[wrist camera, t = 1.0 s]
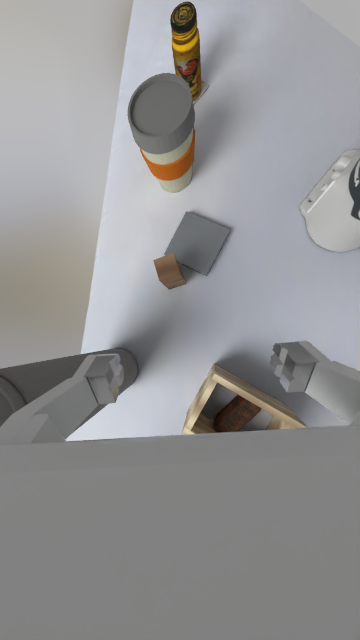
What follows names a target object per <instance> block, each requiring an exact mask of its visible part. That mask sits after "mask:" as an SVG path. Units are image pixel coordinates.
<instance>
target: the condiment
mask: <svg viewBox="0 0 360 640" xmlns="http://www.w3.org/2000/svg"><path fill="white" fill-rule="evenodd" d="M196 15H197V14H196V9H195V7H194V5H193V4H192V3H190V2H183V3H181V4H179V5H178V6H177V7H176V8H175V9H174V10H173V12H172V14H171V20H170V21H171V28H172V50H173V58H174V65H175V71H176V75H178V76H180V77H181V78H183V79H184V80H185V81H186V82H187V84H188V85H189V87H190V90H191V94H192V100H193V105H194V104H195V102H196V101H197V100H198V99H199V98H200V97H201V95H202V94H203V93H204V92H205V90H206V89H207V88H208V87H209V85H207V84H206V83H204V82H203V81H201V67H200V66H201V65H200V39H199V31H198V28H197V19H196V18H197V16H196Z"/></svg>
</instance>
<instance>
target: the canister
mask: <svg viewBox="0 0 360 640" xmlns="http://www.w3.org/2000/svg"><path fill="white" fill-rule="evenodd" d="M99 354H118V355H119V356H120V359H121V360H120V363H119V364H120V365H122V366H123V369H124V379H123V383H122V385H121V386H119V387H118V388H119V394H118V395H120V394H121V393H122V392H123V391H124V390H126V389H127V388H128V387H129V386H130V385H132V384H133V382H134V381H135V379H136V376H137V372H138V369H137V363H136V360H135V358H134V357H133V355H132V354H131V353H130V352H128V351H127V350H124V349H121V348H117V349H109V350H103V351H98V352H92V353H86V354H80V355H75V356H69V357H63V358H58V359H52V360H47V361H41V362H36V363H30V364H26V365H19V366H14V367H8V368H3V369H0V427H1V426H2V425H3V424H4V423H5V421H6V420H7V419H8V418H9V417H10V416H11V415H12V414H13V413H15V412H16V411H18V410H20V409H21V408H23V407H24V406H26V405H27V404H29V403H31V402H32V401H34V400H35V399H37V398H38V397H40V396H42V395H43V394H45V393H46V392H48V391H49V390H51V389H52V388H54V387H56V386H57V385H59V384H60V383H62V382H63V381H65V380H67V379H68V378H72V377H73V375H74V374H75V373H76V371H77V370H78V368H79V367H80V365H81V364H82V363H83V361H84V360H85V358H86V357H87V356H89V355H99ZM107 404H109V403H107ZM107 404H98V406H97V407H96V408H95V409H94V410H93V411H92V412H91V413H90V414H89V415H88V416H87V417H86V419H85V420H84V421H83V422H82V423H81V424H80V425H79V426H78V427H77V428H76V429H75V430H77V429H78V428H79V427H80V426H82V425H83V424H84V423H85V422H87V421H88V420H89V419H90V418H92V417H93V416H94V415H95V414H96V413H98V412H99V411H100V410H101V409H103V408H104V407H105V406H106V405H107ZM75 430H74V431H75ZM74 431H73V432H74ZM73 432H72V433H73ZM72 433H71V434H72ZM71 434H70V435H71Z"/></svg>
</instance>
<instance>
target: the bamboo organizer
mask: <svg viewBox="0 0 360 640" xmlns="http://www.w3.org/2000/svg"><path fill="white" fill-rule="evenodd" d="M217 382H218V383H220V384H221V385H223V386H225V387H226V388H228V389H230V390H231V391H233V392H235V393H236V394H238V395H240V396H242V397H243V398H245V399H247V400H248V401H250V402H252V403H253V404H255V405H257V406H259V407H260V408H262V409H264V410H265V411H267V412H269V413H270V414H272V415H274V417H273V418H272V420H271V422H270V424H269V425H268V427H267V429H266V430H277V429H294V428H308V427H307V426H306V425H305V424H304V423H303V422H302V421H301V420H300V419H299V418H298V417H297V416H296V415H295V414H294V412H293V411H292V410H291V409H290V408H289V407H288V406H287V405H285V404H283V403H281V402H280V401H278V400H276V399H274V398H273V397H271V396H269V395H267V394H266V393H264V392H262V391H260V390H259V389H257V388H255V387H253V386H252V385H250V384H248V383H246V382H245V381H243V380H241V379H239V378H238V377H236V376H234V375H232V374H231V373H229V372H227V371H225V370H224V369H222V368H220V367H218V366H217V365H215V364H213V366H212V368H211V370H210V372H209V373H208V375H207V377H206V379H205V381H204V382H203V384H202V386H201V388H200V390H199V392H198V393H197V395H196V397H195V399H194V401H193V402H192V404H191V406H190V408H189V410H188V412H187V416H186V420H185V423H184V427H183V431H182V433H184V434H185V435H189V434H207V433H219V432H218V430H217V429H216V428H215V426H214V421H212V420H210V419H209V418H207V417H206V416H204V415H203V414H201V413H200V412H201V411H202V409H203V407H204V405H205V403H206V402H207V400H208V398H209V396H210V394H211V393H212V391H213V389H214V387H215V385H216V384H217Z"/></svg>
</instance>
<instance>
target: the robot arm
mask: <svg viewBox="0 0 360 640" xmlns="http://www.w3.org/2000/svg"><path fill="white" fill-rule="evenodd" d="M309 201H311V202H309ZM300 211H301V213H302V214H303V215H304V217H305V219H306V226H307V230H308V233H309V235H310V236H311V238H312V239H313V240H314V241H315V242H316V243H317V244H318V245H320V246H321V247H323V248H325V249H328V250H331V251H337V252H345V251H351V250H354V249H357V248H359V247H360V149H355V150H349V151H345V152H344V153H343V154H342V155H341V156H340V157H339V158H338V160H337V161H336V162H335V163H334V164H333V166H332V167H331V168H330V169H329V170H328V172H327V173H326V174H325V175H324V176H323V178H322V179H321V180H320V181H319V183H318V184H317V185H316V186H315V187H314V189H313V190H312V191H311V192H310V193H309V195H308V196H307V197H306V198H305V199H304V201H303V202H302V203H301V204H300ZM273 351H274V354H273V355H272V356H271V360H270V364H271V368H272V371H273V372H274V374H275V375H276V376H278V377H280V381H279V382H280V383H281V384H282V386H283V387H284V389H285V390H286V392H305V393H306V394H308V395H309V396H310V397H312V398H313V399H315V400H316V401H318V402H319V403H320V404H322V405H323V406H325V407H326V408H327V409H329V410H330V411H332V412H333V413H335V414H336V415H337V416H339V417H340V418H342V419H343V420H344V421H346V422H347V423H349V424H350V425H346V426H329V427H311V428H294V429H277V430H260V431H243V432H225V433H207V434H189V435H171V436H154V437H136V438H119V439H101V440H84V441H66V440H65V439H66V438H67V437H68V436H69V435H70V434H71V433H72V432H73V431H74V430H75V429H76V428H77V427H78V426H79V425H80V424H81V423H82V422H83V421H84V420H85V419H86V417H87V416H88V415H89V414H90V413H91V412H92V411H93V410H94V409H95V408H96V407H97V406H98V404H107V403H115V402H116V400H117V397H118V394H119V388H118V387H119V386H121V385H122V383H123V379H124V369H123V366H122V365H120V364H119V363H120V360H121V359H120V356H119V355H118V354H99V355H89V356H87V357H86V358H85V360H84V361H83V363H82V364H81V365H80V367H79V368H78V370H77V371H76V373H75V374H74V375H73V377H72V378H68V379H67V380H65V381H63V382H62V383H60V384H59V385H57V386H56V387H54V388H52V389H51V390H49V391H48V392H46V393H45V394H43V395H42V396H40V397H38V398H37V399H35V400H34V401H32V402H31V403H29V404H27V405H26V406H24V407H23V408H21V409H20V410H18V411H16V412H15V413H13V414H12V415H11V416H10V417H9V418H8V419H7V420H6V421H5V423H4V424H3V425H2V426H1V427H0V640H360V371H358V370H355V369H353V368H350V367H348V366H345V365H343V364H340V363H338V362H335V361H330V360H329V359H328V358H327V357H326V356H325V355H323V354H322V353H321V352H320V351H319V350H318V349H316V348H315V347H314V346H313V345H312V344H311V343H309V342H308V341H297V342H288V343H275V345H274V346H273Z"/></svg>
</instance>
